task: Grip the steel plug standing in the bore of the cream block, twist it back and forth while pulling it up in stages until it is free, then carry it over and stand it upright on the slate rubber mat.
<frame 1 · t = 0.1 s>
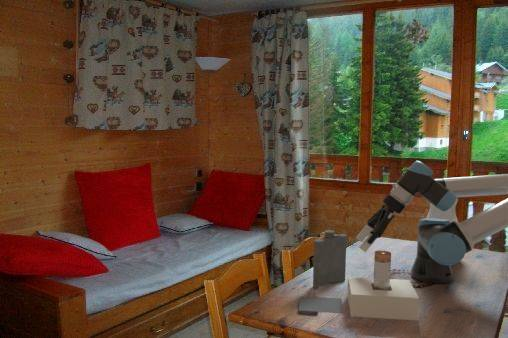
hand: (360, 244, 175), 15 cm above the table, tool tilted 35°, fingers open, 13 cm apart
slate mat: (320, 307, 157), on the table
bore block: (380, 310, 154), on the table
pitcher: (438, 256, 215), on the table
steel plug: (380, 307, 154), point 1 cm above the table, touching bore block
hip flask: (328, 283, 179), on the table
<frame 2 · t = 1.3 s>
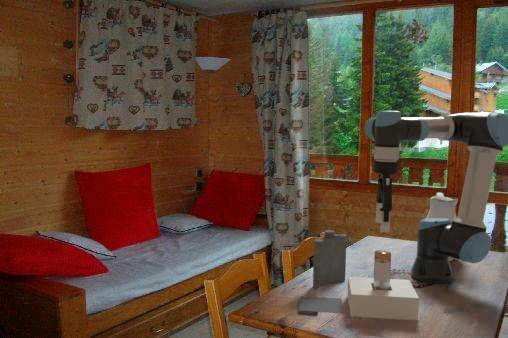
hand: (382, 227, 152), 27 cm above the table, tool pointing down, fingers open, 13 cm apart
nothing on the table moved.
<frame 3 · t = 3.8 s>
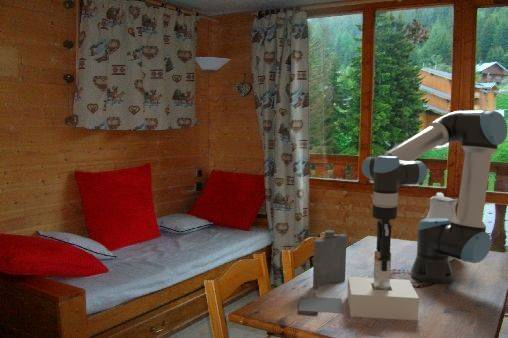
hand: (381, 276, 153), 11 cm above the table, tool pointing down, fingers closed on steel plug, 5 cm apart
steel plug: (380, 307, 154), point 1 cm above the table, touching bore block, gripper
everything else where it was.
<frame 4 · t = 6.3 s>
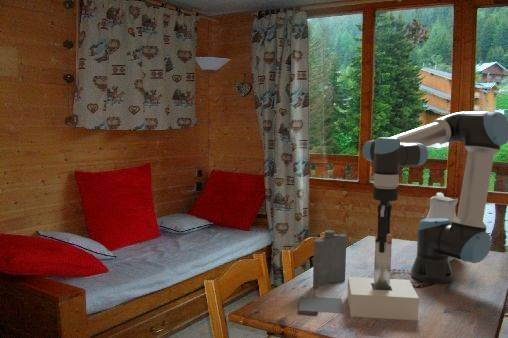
hand: (382, 259, 152), 17 cm above the table, tool pointing down, fingers closed on steel plug, 5 cm apart
steel plug: (381, 290, 154), point 7 cm above the table, touching gripper
everything else where it was.
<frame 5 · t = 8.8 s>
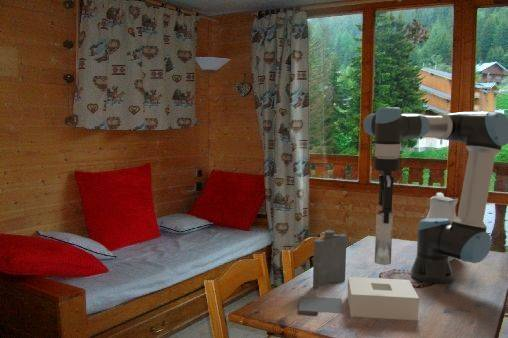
hand: (383, 230, 151), 26 cm above the table, tool pointing down, fingers closed on steel plug, 5 cm apart
steel plug: (382, 262, 153), point 16 cm above the table, touching gripper
everything else where it was.
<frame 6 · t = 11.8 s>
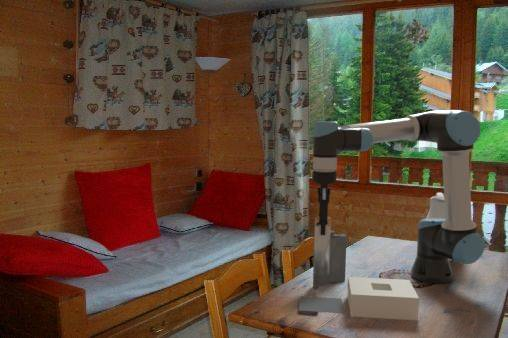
hand: (322, 242, 154), 22 cm above the table, tool pointing down, fingers closed on steel plug, 5 cm apart
steel plug: (321, 272, 155), point 12 cm above the table, touching gripper
everything else where it was.
when the fingers open (12 cm above the table, at t = 14.1 s): steel plug stays where it is, resting on slate mat.
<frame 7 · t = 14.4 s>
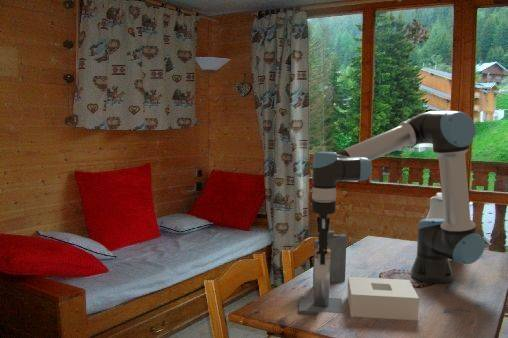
hand: (321, 268, 155), 13 cm above the table, tool pointing down, fingers open, 9 cm apart
steel plug: (321, 304, 157), point 1 cm above the table, touching slate mat
everything else where it was.
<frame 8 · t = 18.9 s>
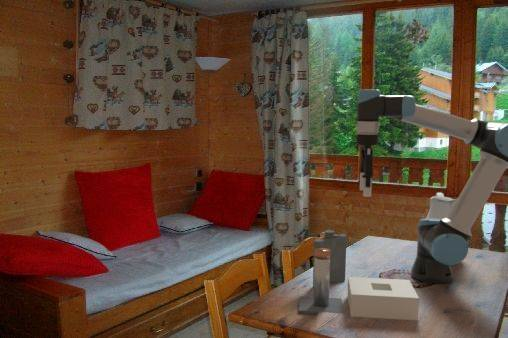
hand: (365, 193, 172), 35 cm above the table, tool pointing down, fingers open, 13 cm apart
nothing on the table moved.
at the end: steel plug inside the target area on the slate mat (0.0 cm from its centre), point 1.0 cm above the slate mat's base; steel plug tilted 0°; the gripper is holding nothing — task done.
